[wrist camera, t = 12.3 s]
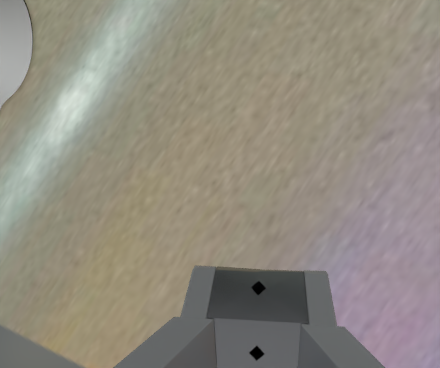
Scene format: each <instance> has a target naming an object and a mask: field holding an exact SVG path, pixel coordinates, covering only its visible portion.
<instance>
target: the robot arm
mask: <svg viewBox="0 0 440 368" xmlns="http://www.w3.org/2000/svg"><path fill="white" fill-rule="evenodd" d="M31 55H32V27H31V22H30V17H29V14H28V10H27V8H26V5H25V3H24V1H23V0H0V109H1V107H2V105H3V104H4V102H5V101H6V100H7V99H8V98H10V97H11V96H12V95H13V94H14V93H15V92H16V90H17V89H18V88H19V86H20V85H21V83H22V82H23V80H24V78H25V76H26V73H27V71H28V68H29V64H30V60H31ZM113 368H385V367H384V366H383V365H382V364H381V363H380V362H379V361H378V360H377V359H376V358H375V357H374V356H373V355H372V354H371V353H370V352H369V351H368V350H367V349H366V348H365V347H364V346H363V345H362V344H361V343H360V342H359V341H358V340H357V339H356V338H355V337H354V336H353V335H352V334H351V333H350V332H349V331H348V330H347V329H346V328H345V327H339V326H337V323H336V317H335V312H334V306H333V301H332V295H331V289H330V284H329V278H328V274H327V272H326V271H288V270H261V269H247V268H232V267H212V266H195V267H194V269H193V271H192V274H191V278H190V282H189V286H188V290H187V293H186V297H185V301H184V305H183V309H182V313H181V316H180V317H173V318H172V319H171V320H170V321H168V322H167V323H166V324H165V325H164V326H162V327H161V328H160V329H159V330H158V331H156V332H155V333H154V334H153V335H152V336H150V337H149V338H148V339H147V340H146V341H145V342H143V343H142V344H141V345H140V346H139V347H137V348H136V349H135V350H134V351H133V352H131V353H130V354H129V355H128V356H127V357H125V358H124V359H123V360H122V361H121V362H119V363H118V364H117V365H116V366H115V367H113Z"/></svg>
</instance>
